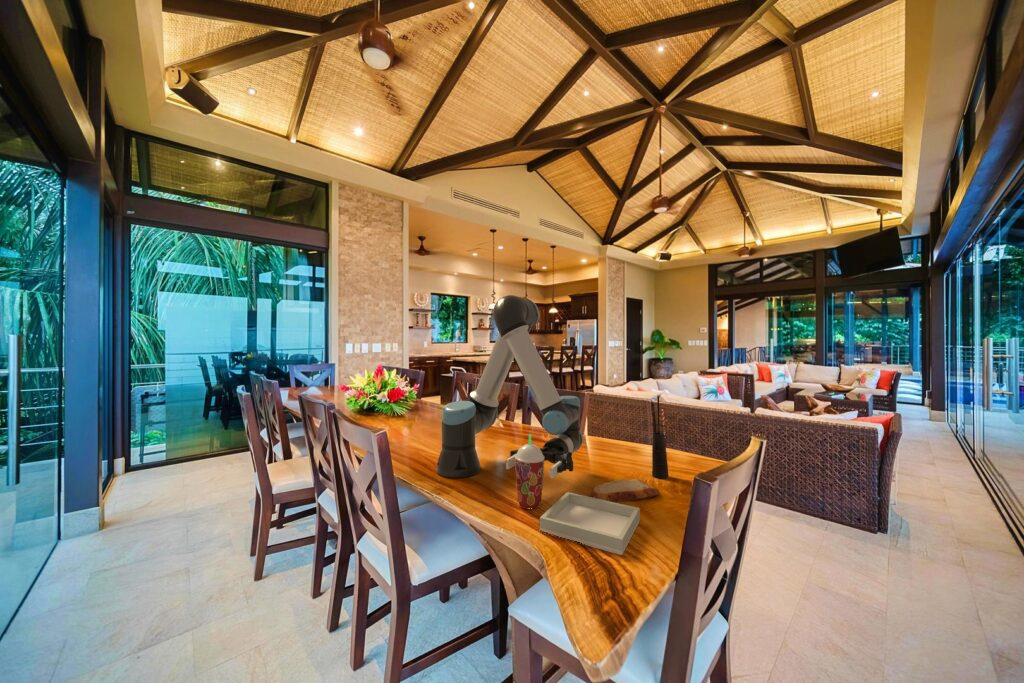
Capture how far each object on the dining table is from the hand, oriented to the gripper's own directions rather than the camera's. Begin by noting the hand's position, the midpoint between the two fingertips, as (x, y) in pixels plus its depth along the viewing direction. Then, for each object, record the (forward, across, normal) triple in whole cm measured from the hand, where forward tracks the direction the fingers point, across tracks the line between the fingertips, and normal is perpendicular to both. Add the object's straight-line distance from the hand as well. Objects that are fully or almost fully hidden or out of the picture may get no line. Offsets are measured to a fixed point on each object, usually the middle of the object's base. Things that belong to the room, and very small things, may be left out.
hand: (528, 468), depth 110 cm
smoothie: (-2, 0, -11) cm, 11 cm away
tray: (+2, -18, -11) cm, 22 cm away
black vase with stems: (-45, -28, -11) cm, 55 cm away
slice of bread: (-23, -21, -12) cm, 33 cm away
